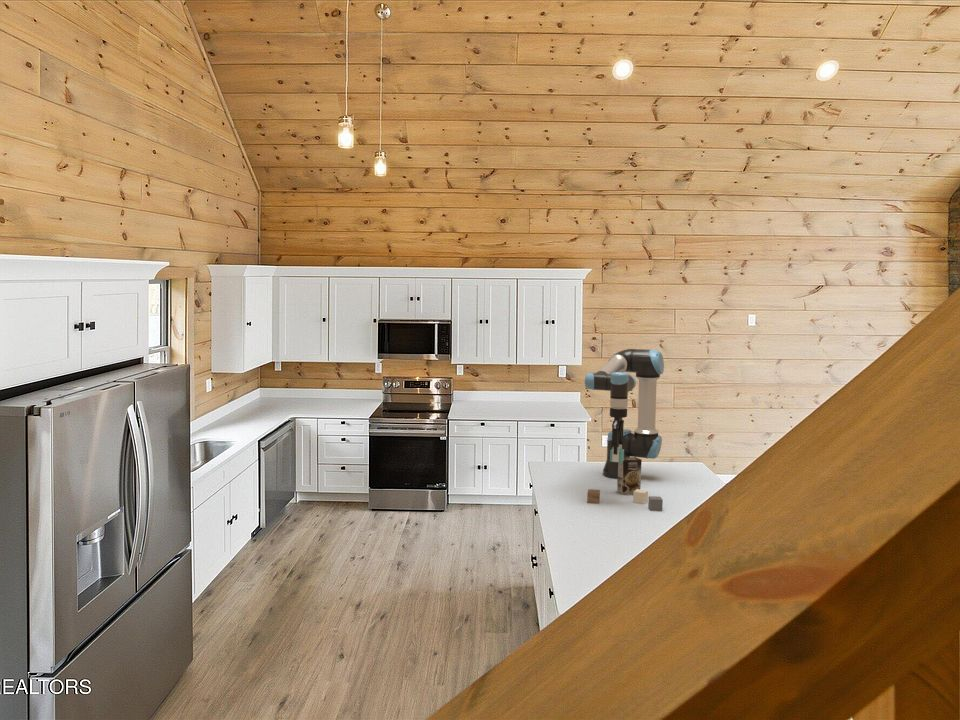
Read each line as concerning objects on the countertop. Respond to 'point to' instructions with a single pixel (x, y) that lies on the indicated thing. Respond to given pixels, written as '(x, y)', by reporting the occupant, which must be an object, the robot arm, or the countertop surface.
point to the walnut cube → (593, 496)
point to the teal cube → (621, 455)
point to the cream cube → (640, 496)
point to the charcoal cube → (655, 503)
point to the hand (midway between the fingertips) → (616, 460)
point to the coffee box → (629, 475)
